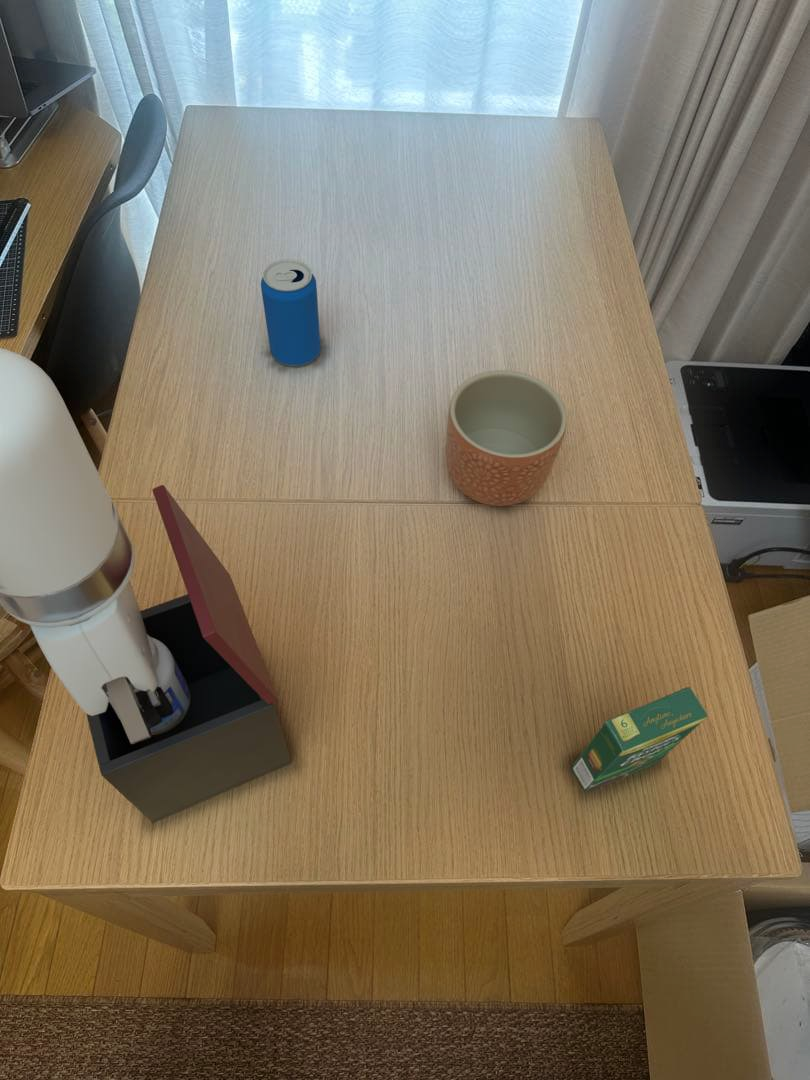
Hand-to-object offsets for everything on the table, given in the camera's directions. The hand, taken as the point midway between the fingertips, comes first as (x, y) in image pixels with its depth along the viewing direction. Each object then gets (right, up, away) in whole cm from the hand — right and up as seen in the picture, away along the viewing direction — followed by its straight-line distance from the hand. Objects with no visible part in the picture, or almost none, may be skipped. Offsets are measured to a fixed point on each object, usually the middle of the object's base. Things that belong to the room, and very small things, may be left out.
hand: (140, 681), depth 55 cm
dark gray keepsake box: (+1, -7, +13) cm, 15 cm away
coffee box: (+39, -10, +13) cm, 42 cm away
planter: (+30, +18, +31) cm, 47 cm away
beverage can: (+6, +35, +41) cm, 54 cm away
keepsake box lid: (+7, +6, -4) cm, 10 cm away
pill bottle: (0, -3, +4) cm, 5 cm away
